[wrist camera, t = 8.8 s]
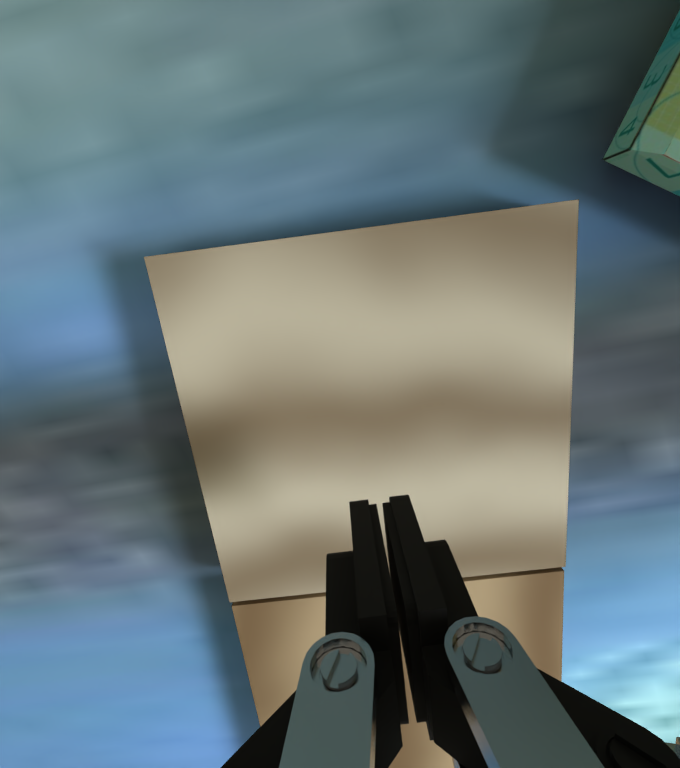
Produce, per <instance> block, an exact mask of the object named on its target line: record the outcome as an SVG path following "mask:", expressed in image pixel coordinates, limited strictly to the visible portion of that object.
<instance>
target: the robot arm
mask: <svg viewBox="0 0 680 768" xmlns="http://www.w3.org/2000/svg"><path fill="white" fill-rule="evenodd" d="M349 506H350V519H351V531H352V544H353V551H345V552H337V553H329V554H327V555H326V619H325V636H324V637H322V638H320V639H319V640H318V641H316V642H315V643H314V644H313V645H312V646H311V647H310V649H309V650H308V651H307V653H306V655H305V658H304V660H303V663H302V668H301V672H300V677H299V681H298V685H297V690H296V691H295V692H294V693H293V694H292V695H291V696H290V697H289V698H288V699H287V700H286V701H285V702H284V703H283V704H282V705H281V706H280V707H279V708H278V709H277V710H276V711H275V712H274V713H273V714H272V715H271V717H270V718H269V719H268V720H267V721H266V722H265V723H264V724H263V725H262V726H261V727H260V728H259V729H258V730H257V731H256V732H255V733H254V734H253V735H252V736H251V737H250V738H249V739H248V740H247V741H246V742H245V743H244V744H243V745H242V746H241V747H240V748H239V749H238V751H237V752H236V753H235V754H234V755H233V756H232V757H231V758H230V759H229V760H228V761H227V762H226V763H225V764H224V765H223V766H222V767H221V768H389V766H390V765H391V763H392V762H393V760H394V759H395V757H396V756H397V754H398V753H399V751H400V750H401V748H402V747H403V743H402V734H401V725H402V724H409V718H408V708H407V699H406V690H405V680H404V671H403V661H402V652H401V643H400V636H401V642H402V647H403V652H404V658H405V663H406V668H407V674H408V679H409V684H410V690H411V695H412V700H413V706H414V711H415V716H416V721H417V723H420V722H426V724H427V729H428V734H429V739H430V741H431V740H434V743H435V744H436V745H438V746H439V747H440V748H441V749H443V750H444V751H445V752H446V753H448V754H449V755H450V756H451V757H452V761H453V765H454V768H680V737H677V738H676V744H673V743H665V742H664V741H663V740H662V739H660V738H659V737H657V736H656V735H654V734H653V733H651V732H650V731H649V730H647V729H646V728H644V727H642V726H640V725H638V724H637V723H635V722H633V721H631V720H629V719H628V718H626V717H624V716H622V715H621V714H619V713H617V712H615V711H613V710H612V709H610V708H608V707H606V706H604V705H603V704H601V703H599V702H597V701H595V700H594V699H592V698H590V697H588V696H586V695H585V694H583V693H581V692H579V691H577V690H576V689H574V688H572V687H570V686H568V685H567V684H565V683H563V682H561V681H559V680H558V679H556V678H554V677H552V676H550V675H549V674H547V673H545V672H543V671H541V670H540V669H538V668H536V666H535V665H534V663H533V662H532V661H531V659H530V658H529V656H528V655H527V653H526V652H525V650H524V649H523V647H522V646H521V644H520V643H519V641H518V640H517V638H516V637H515V636H514V635H513V634H512V633H511V632H510V630H509V629H508V628H506V627H505V626H503V625H502V624H500V623H499V622H497V621H494V620H491V619H489V618H485V617H478V614H477V612H476V610H475V607H474V605H473V602H472V600H471V598H470V595H469V593H468V590H467V588H466V586H465V583H464V581H463V578H462V576H461V574H460V571H459V569H458V566H457V564H456V562H455V559H454V557H453V554H452V552H451V550H450V547H449V545H448V543H447V541H446V540H437V541H428V542H424V539H423V536H422V533H421V530H420V527H419V524H418V521H417V518H416V515H415V512H414V509H413V506H412V503H411V500H410V497H409V495H400V496H391V497H389V502H386V503H382V506H383V515H384V524H385V533H386V543H387V552H388V561H389V567H388V562H387V556H386V551H385V546H384V541H383V536H382V530H381V525H380V520H379V515H378V509H377V504H370V505H369V502H368V499H367V500H359V501H351V502H349ZM389 570H390V572H389ZM399 631H400V633H399Z"/></svg>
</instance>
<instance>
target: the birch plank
mask: <svg viewBox="0 0 680 768" xmlns="http://www.w3.org/2000/svg"><path fill="white" fill-rule="evenodd" d="M578 206H579V199H578V200H571V201H563V202H556V203H548V204H540V205H533V206H525V207H518V208H510V209H503V210H495V211H488V212H480V213H472V214H465V215H457V216H450V217H442V218H435V219H427V220H420V221H412V222H404V223H397V224H389V225H382V226H374V227H367V228H359V229H352V230H344V231H336V232H329V233H321V234H314V235H306V236H299V237H291V238H284V239H276V240H268V241H261V242H253V243H246V244H238V245H231V246H223V247H216V248H208V249H200V250H193V251H185V252H178V253H170V254H163V255H155V256H148V257H144V259H145V263H146V267H147V271H148V275H149V279H150V283H151V287H152V291H153V295H154V299H155V303H156V307H157V312H158V316H159V320H160V324H161V328H162V332H163V336H164V340H165V344H166V348H167V352H168V356H169V360H170V364H171V368H172V372H173V376H174V380H175V384H176V388H177V392H178V396H179V400H180V404H181V408H182V412H183V416H184V420H185V424H186V428H187V432H188V436H189V440H190V444H191V448H192V452H193V456H194V460H195V464H196V469H197V473H198V477H199V481H200V485H201V489H202V493H203V497H204V501H205V505H206V509H207V513H208V517H209V521H210V525H211V529H212V533H213V537H214V541H215V545H216V549H217V553H218V557H219V561H220V565H221V569H222V573H223V577H224V581H225V585H226V589H227V593H228V597H229V601H230V602H237V601H247V600H256V599H265V598H275V597H284V596H294V595H303V594H312V593H322V592H326V555H327V554H329V553H337V552H345V551H353V544H352V531H351V519H350V506H349V502H351V501H359V500H367V499H368V502H369V505H370V504H377V509H378V515H379V520H380V525H381V530H382V536H383V541H384V546H385V551H386V556H387V562H388V567H389V561H388V552H387V543H386V533H385V524H384V515H383V506H382V503H386V502H389V497H391V496H400V495H409V497H410V500H411V503H412V506H413V509H414V512H415V515H416V518H417V521H418V524H419V527H420V530H421V533H422V536H423V539H424V542H428V541H437V540H446V541H447V543H448V545H449V547H450V550H451V552H452V554H453V557H454V559H455V562H456V564H457V566H458V569H459V571H460V574H461V576H462V578H463V577H472V576H482V575H491V574H500V573H510V572H519V571H529V570H538V569H547V568H557V567H565V564H566V537H567V509H568V482H569V454H570V426H571V399H572V371H573V344H574V316H575V289H576V261H577V234H578ZM389 572H390V570H389Z"/></svg>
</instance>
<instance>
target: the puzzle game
mask: <svg viewBox="0 0 680 768" xmlns="http://www.w3.org/2000/svg"><path fill="white" fill-rule="evenodd" d="M603 160H604V161H606V162H608V163H610V164H612V165H614V166H617V167H619V168H621V169H623V170H625V171H627V172H629V173H631V174H633V175H636V176H638V177H640V178H642V179H644V180H646V181H648V182H650V183H652V184H655V185H657V186H659V187H661V188H663V189H665V190H667V191H669V192H671V193H674V194H676V195H678V196H680V10H679V12H678V14H677V16H676V18H675V19H674V21H673V23H672V25H671V27H670V29H669V31H668V33H667V35H666V37H665V39H664V41H663V43H662V45H661V47H660V49H659V51H658V53H657V55H656V57H655V58H654V60H653V62H652V64H651V66H650V68H649V70H648V72H647V74H646V76H645V78H644V80H643V82H642V84H641V86H640V88H639V90H638V92H637V94H636V96H635V97H634V99H633V101H632V103H631V105H630V107H629V109H628V111H627V113H626V115H625V117H624V119H623V121H622V123H621V125H620V127H619V129H618V131H617V133H616V135H615V136H614V138H613V140H612V142H611V144H610V146H609V148H608V150H607V152H606V154H605V156H604V158H603Z"/></svg>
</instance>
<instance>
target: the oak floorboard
mask: <svg viewBox="0 0 680 768" xmlns="http://www.w3.org/2000/svg"><path fill="white" fill-rule="evenodd" d="M463 581H464V583H465V586H466V588H467V590H468V593H469V595H470V598H471V600H472V602H473V605H474V607H475V610H476V612H477V614H478V617H485V618H489V619H491V620H494V621H497V622H499V623H500V624H502V625H503V626H505V627H506V628H508V629H509V630H510V632H511V633H512V634H513V635H514V636H515V637H516V638H517V640H518V641H519V643H520V644H521V646H522V647H523V649H524V650H525V652H526V653H527V655H528V656H529V658H530V659H531V661H532V662H533V663H534V665H535V666H536V668H538V669H540V670H541V671H543V672H545V673H547V674H549V675H550V676H552V677H554V678H556V679H558V680H559V681H561V675H562V633H563V592H564V570H563V569H562V568H561V567H557V568H547V569H538V570H529V571H519V572H510V573H500V574H491V575H482V576H472V577H463ZM232 610H233V614H234V618H235V622H236V626H237V631H238V635H239V639H240V643H241V647H242V652H243V656H244V660H245V664H246V668H247V673H248V677H249V681H250V685H251V689H252V694H253V698H254V702H255V706H256V710H257V715H258V719H259V723H260V727H261V726H262V725H263V724H264V723H265V722H266V721H267V720H268V719H269V718H270V717H271V715H272V714H273V713H274V712H275V711H276V710H277V709H278V708H279V707H280V706H281V705H282V704H283V703H284V702H285V701H286V700H287V699H288V698H289V697H290V696H291V695H292V694H293V693H294V692H295V691H296V690H297V685H298V681H299V677H300V672H301V668H302V663H303V660H304V658H305V655H306V653H307V651H308V650H309V649H310V647H311V646H312V645H313V644H314V643H315V642H316V641H318V640H319V639H320V638H322V637H324V636H325V619H326V592H322V593H312V594H303V595H294V596H284V597H275V598H265V599H256V600H247V601H237V602H233V604H232ZM399 633H400V631H399ZM400 643H401V652H402V661H403V671H404V680H405V690H406V699H407V708H408V718H409V724H402V725H401V734H402V743H403V747H402V748H401V750H400V751H399V753H398V754H397V756H396V757H395V759H394V760H393V762H392V763H391V765H390V766H389V768H454V765H453V761H452V757H451V756H450V755H449V754H448V753H446V752H445V751H444V750H443V749H441V748H440V747H439V746H438V745H436V744H435V743H434V740H431V741H430V739H429V734H428V729H427V724H426V722H420V723H417V721H416V716H415V711H414V706H413V700H412V695H411V690H410V684H409V679H408V674H407V668H406V663H405V658H404V652H403V647H402V642H401V636H400Z"/></svg>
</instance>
